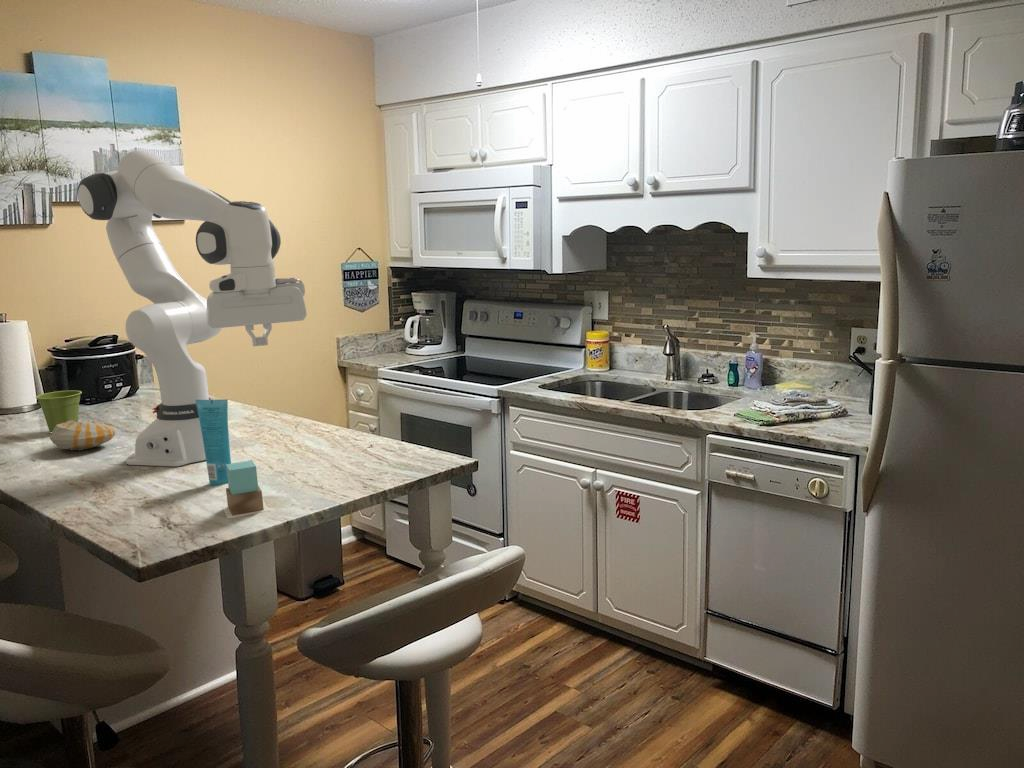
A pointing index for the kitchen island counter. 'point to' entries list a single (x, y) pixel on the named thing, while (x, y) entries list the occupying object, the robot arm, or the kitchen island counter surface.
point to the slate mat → (245, 513)
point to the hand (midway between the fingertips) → (260, 345)
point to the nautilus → (81, 435)
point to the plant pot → (60, 407)
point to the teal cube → (242, 477)
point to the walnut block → (244, 502)
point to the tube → (215, 438)
